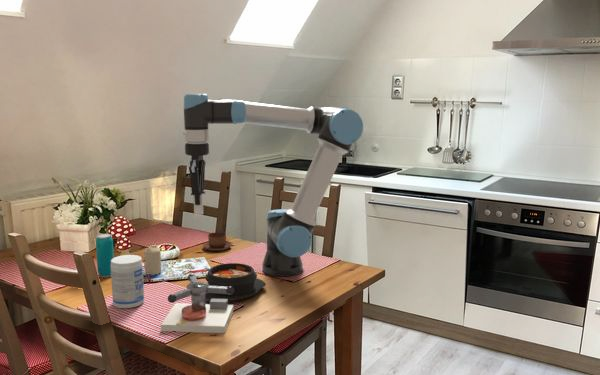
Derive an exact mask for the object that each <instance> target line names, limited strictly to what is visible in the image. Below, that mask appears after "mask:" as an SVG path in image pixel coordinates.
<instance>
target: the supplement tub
mask: <svg viewBox="0 0 600 375" xmlns="http://www.w3.org/2000/svg"><path fill="white" fill-rule="evenodd" d="M143 268H144V267H143V259H142V256H140V255H137V254H123V255H118V256H114V258H113V259H112V260H111V277H110V280H111V290H112V291H111V293H112V294H111V295H112V303H113V306H114V307H115V308H118V309H133V308H137V307H139V306H141V305H142V304H143V303H144V302H145V290H144V289H145V286H144V269H143Z"/></svg>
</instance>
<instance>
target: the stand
mask: <svg viewBox="0 0 600 375" xmlns="http://www.w3.org/2000/svg"><path fill="white" fill-rule="evenodd" d="M189 305H192V303H185V302H184V303H183V302H182V303H181V302H179V303H177V302H174V305H173V307H172V308H171V309H170V310H169V312H168V313H167V315H166V317H165V318H164V320H162V322H161V324H160V332H170V331H176V333H206V334H208V333H210V334H211V333H212V334H225V333H226V331H227V328H228V327H229V326H228V325H229V323H230V320H231V319H232V317H233V316H232V315H233V313H234V311H235V310H234V304H229V301H228V299H211V300H210V302H209V303H205V306H206V316H205V317H204V318H202V319H200V320H194V321H190V320H185V319H183V318H182V309H183V308H184V307H186V306H189Z"/></svg>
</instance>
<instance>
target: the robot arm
mask: <svg viewBox="0 0 600 375" xmlns="http://www.w3.org/2000/svg"><path fill="white" fill-rule="evenodd" d="M183 119H184V120H183V122H184V124H183V126H184V131H183V132H182V135H184V142H186V143H185V144H184V150H185V151H184V153H185V155H186V156H191V157H190V158H191V159H190V161H189V166H188V169H189V170H188V171H189V177H190V178H189V179H190V186H191V189H190V190H191V193H190V195H191V196H193V215H204V194H205V195H206V191H205V180H206V179H205V177H206V174H205V173H206V161H205V159H204V156H207V155H209V154H210V146H209V145H210V144H209V143H208V142H209V141H210V136H209V131H210V130H209V124H211V125H212V124H213V125H214V124H222V125H223V124H226V125H227V124H228V125H229V124H234V125H237V124H248V125H249V124H250V125H257V126H265V127H266V126H267V127H274V128H284V129H293V130H303V131H305V132H306V133H307V134H312V135H318V137H317V142H318V148H317V149H316V151H315V154H314V156H313V158H312V160H311V163H310V165H309V167H308V169H307V172H306V174H305V176H304V178H303V181H302V183H301V184H300V188H299V189H298V192H297V194H296V196H295V198H294V200H293V203H292V206H291V207H290V208H286V209H285V208H283V209H272V210H269V211H268V212H267V213H266V252H265V255H264V258H263V261H262V268H261V269H262V271H263V272H264V274H267V275H270V276H274V277H275V276H276V277H290V276H291V277H292V276H295V275H299V274H300V273H302V272H303V269H304V268H303V266H304V265H303V264H304V263H303V260H302V258H301V257H302V256H303V255H305V254H306V253H307V252H308V251H309V250H310V249H311V246H312V243H313V238H312V237H313V236H312V233H313V231H314V229H315V227H316V222H315V216H316V214H317V212H318V209H319V207H320V206H321V203H322V201H323V198H324V197H325V194H326V192H327V190H328V187H329V185H330V184H331V181H332V179H333V176H334V175H335V172H336V170H337V168H338V165H339V164H340V161H341V159H342V157H343V156H344V155H346V154H348V153H350V150H351V147H352V145H353V144H355V142H357V141H359V139H360V138H361V137H362V134H363V132H364V122H363V120H362V117H361V116H360V114H359V113H358V112H356V111H355V110H353V109H351V108H348V107H339V106H327V107H326V106H323V107H321V106H320V107H319V106H318V107H317V106H309V107H308V108H302V107H296V106H295V107H294V106H285V105H276V104H268V103H261V102H251V101H244V100H240V99H239V100H237V99H226V98H218V99H215V100H213V99H209V97H208V94H207V93H186V94H185V95H184V96H183Z"/></svg>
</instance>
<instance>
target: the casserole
mask: <svg viewBox="0 0 600 375" xmlns="http://www.w3.org/2000/svg"><path fill="white" fill-rule="evenodd" d="M257 277H258V275H257V273H256V272H255V269H254V267H252V266H251V265H248V264H245V263H238V262H229V263H221V264H217V265H214V266H212V267H210V268H209V269H208V270H207V273H206V275H205V277H204V278H205V280H206V281H205V282H206V283H208V284H209V286H225V287H229V286H231V287H233V288H234V293H233V294H231V295H228V294H219V293H207V294H205V302H209V303H210V300H211V299H228V302H229V301H238V300H242V299H247V298H249V297H252V296H254V295H256V294H257V293H259V291H260V290H261V289H262V288H264V287H265V286H266V285H267V284H266V282H265V281H264V280H262V279H260V278H257Z"/></svg>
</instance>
